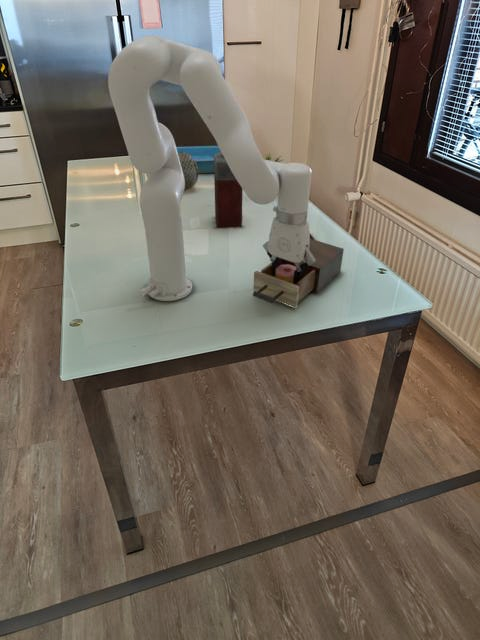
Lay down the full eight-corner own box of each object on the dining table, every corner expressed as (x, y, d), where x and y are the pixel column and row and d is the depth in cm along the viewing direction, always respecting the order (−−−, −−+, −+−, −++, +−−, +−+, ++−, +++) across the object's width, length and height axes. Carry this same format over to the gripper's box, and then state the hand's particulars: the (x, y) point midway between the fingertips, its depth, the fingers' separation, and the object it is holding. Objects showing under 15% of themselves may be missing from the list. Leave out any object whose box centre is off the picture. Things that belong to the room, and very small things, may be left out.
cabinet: (317, 294, 128) (320, 268, 123) (272, 278, 135) (274, 253, 130) (340, 272, 138) (343, 248, 133) (297, 259, 145) (299, 235, 140)
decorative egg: (194, 195, 188) (192, 157, 179) (167, 193, 190) (163, 155, 181) (201, 185, 197) (200, 149, 189) (175, 183, 199) (172, 147, 190)
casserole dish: (152, 177, 205) (150, 161, 201) (153, 161, 223) (152, 146, 219) (235, 174, 209) (235, 158, 204) (230, 159, 227) (230, 144, 222)
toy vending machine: (238, 214, 172) (239, 135, 156) (242, 227, 163) (243, 145, 147) (214, 215, 172) (212, 136, 155) (216, 227, 163) (215, 145, 146)
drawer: (283, 318, 117) (285, 297, 113) (241, 301, 123) (241, 281, 120) (319, 286, 130) (322, 267, 126) (279, 272, 136) (280, 253, 132)
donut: (301, 278, 127) (302, 268, 125) (290, 287, 123) (291, 277, 121) (282, 271, 129) (283, 262, 128) (271, 280, 125) (271, 270, 124)
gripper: (254, 211, 117) (252, 273, 127) (315, 229, 109) (307, 294, 119) (270, 202, 122) (267, 263, 132) (330, 219, 114) (321, 282, 124)
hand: (286, 277), depth 126 cm, fingers closed on donut, 6 cm apart
